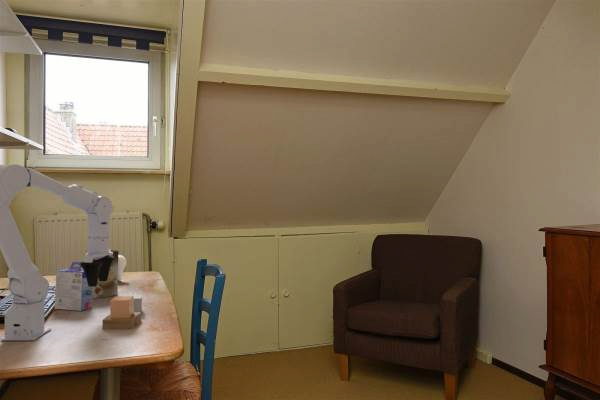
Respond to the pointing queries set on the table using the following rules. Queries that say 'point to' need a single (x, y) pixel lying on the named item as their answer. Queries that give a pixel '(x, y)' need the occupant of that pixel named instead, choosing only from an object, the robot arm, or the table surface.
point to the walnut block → (121, 322)
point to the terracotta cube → (121, 307)
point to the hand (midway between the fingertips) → (98, 283)
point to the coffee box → (108, 281)
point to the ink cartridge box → (72, 289)
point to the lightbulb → (121, 265)
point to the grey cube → (137, 303)
